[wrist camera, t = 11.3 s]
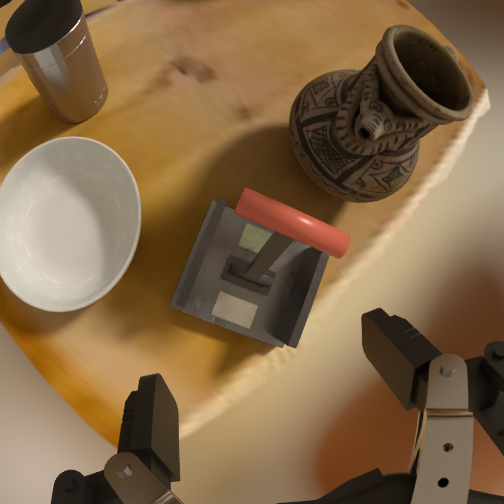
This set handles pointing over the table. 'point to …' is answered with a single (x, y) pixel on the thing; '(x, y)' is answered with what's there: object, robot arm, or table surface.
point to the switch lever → (284, 234)
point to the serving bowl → (67, 224)
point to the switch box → (243, 290)
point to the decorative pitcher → (377, 115)
